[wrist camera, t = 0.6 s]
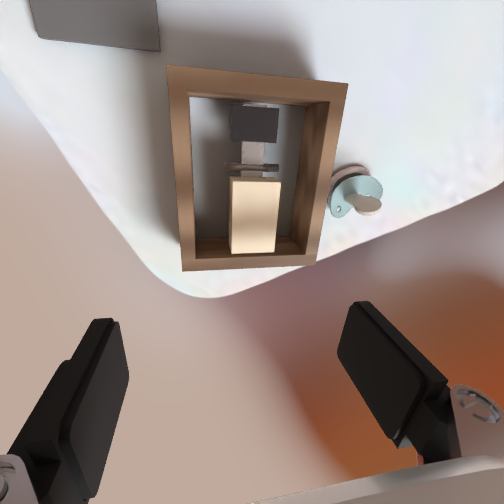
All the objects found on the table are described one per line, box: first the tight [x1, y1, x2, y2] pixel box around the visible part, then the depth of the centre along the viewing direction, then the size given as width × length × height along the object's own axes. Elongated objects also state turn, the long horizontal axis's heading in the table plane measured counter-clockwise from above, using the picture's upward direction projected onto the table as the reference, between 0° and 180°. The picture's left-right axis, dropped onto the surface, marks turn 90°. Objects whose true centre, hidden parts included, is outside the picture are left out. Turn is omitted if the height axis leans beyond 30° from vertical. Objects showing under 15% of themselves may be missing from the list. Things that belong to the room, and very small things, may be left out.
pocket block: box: [166, 65, 348, 272], centre depth 28 cm, size 19×16×6 cm
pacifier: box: [328, 166, 383, 218], centre depth 31 cm, size 7×6×6 cm
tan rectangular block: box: [229, 176, 281, 254], centre depth 28 cm, size 8×5×3 cm, turn 177°
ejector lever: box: [224, 104, 279, 177], centre depth 28 cm, size 15×6×1 cm, turn 177°
